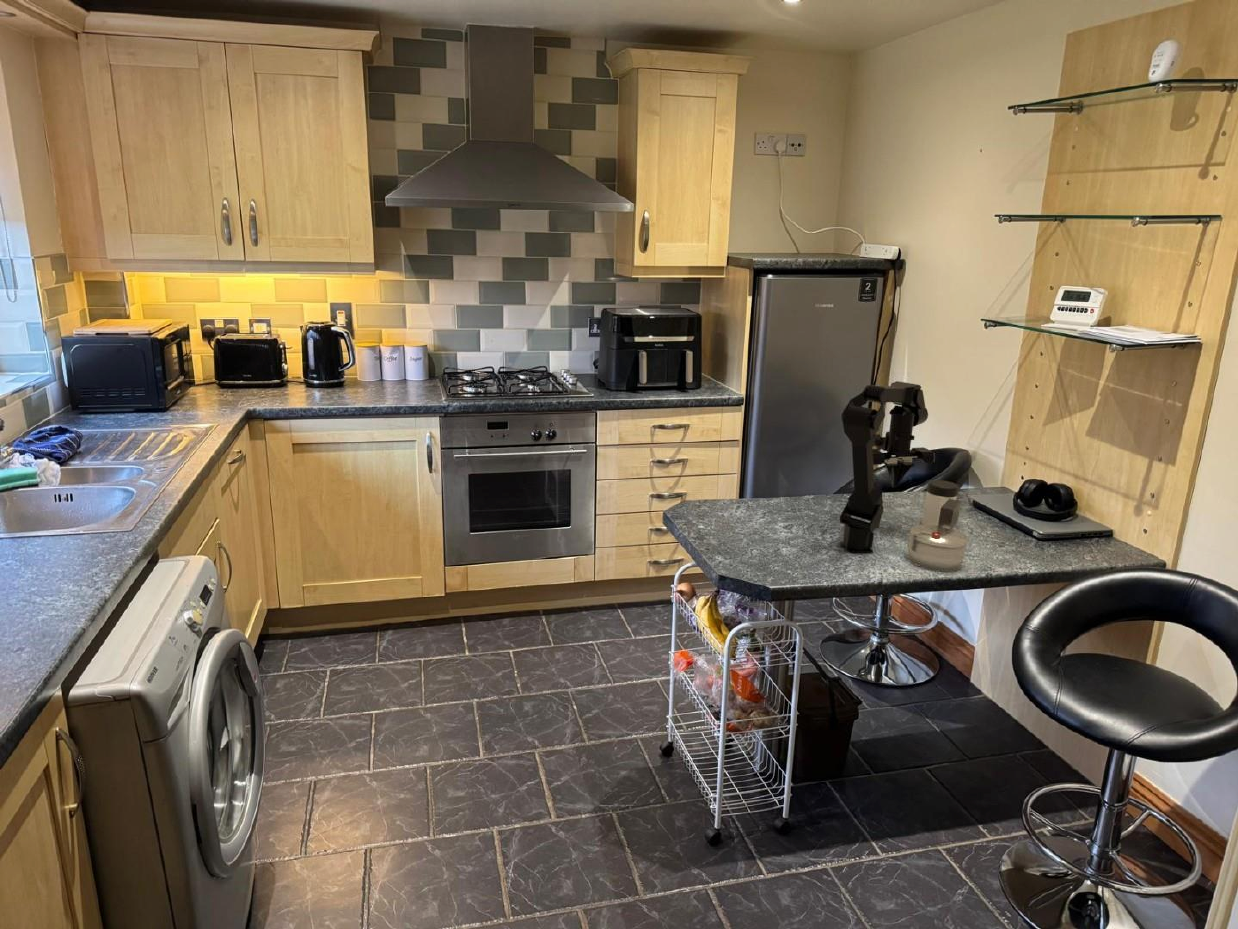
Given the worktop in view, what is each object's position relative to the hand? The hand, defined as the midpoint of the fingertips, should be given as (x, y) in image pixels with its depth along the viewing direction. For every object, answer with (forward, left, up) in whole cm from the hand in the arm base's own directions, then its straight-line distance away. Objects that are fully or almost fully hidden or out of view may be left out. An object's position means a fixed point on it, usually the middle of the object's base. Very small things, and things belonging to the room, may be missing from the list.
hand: (894, 487), depth 224 cm
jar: (+18, +7, -13) cm, 24 cm away
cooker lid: (+6, -16, -7) cm, 19 cm away
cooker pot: (+5, -17, -13) cm, 22 cm away
